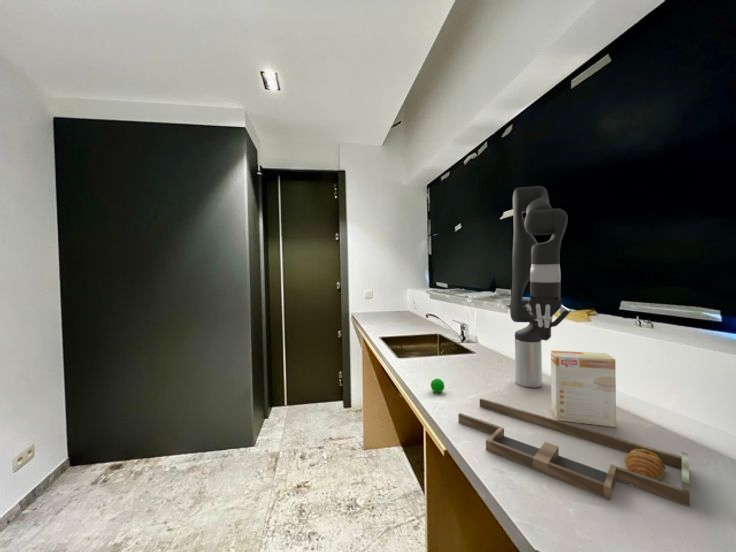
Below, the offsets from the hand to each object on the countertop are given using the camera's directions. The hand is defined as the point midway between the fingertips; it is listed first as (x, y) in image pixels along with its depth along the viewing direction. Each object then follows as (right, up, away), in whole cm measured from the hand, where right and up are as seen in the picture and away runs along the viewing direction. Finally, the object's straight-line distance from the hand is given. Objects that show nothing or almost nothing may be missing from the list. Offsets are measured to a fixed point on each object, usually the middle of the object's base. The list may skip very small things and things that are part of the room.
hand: (544, 339), depth 90 cm
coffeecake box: (+13, -25, +3) cm, 28 cm away
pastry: (+10, -26, -21) cm, 35 cm away
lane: (-5, -25, -12) cm, 28 cm away
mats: (-9, -25, -17) cm, 32 cm away
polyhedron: (-25, -25, +26) cm, 44 cm away
